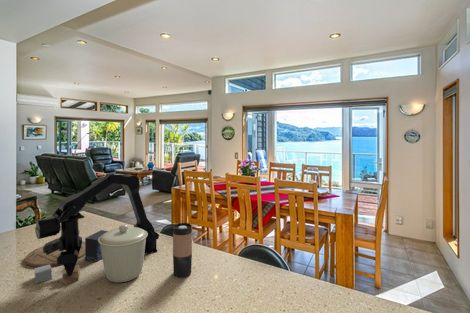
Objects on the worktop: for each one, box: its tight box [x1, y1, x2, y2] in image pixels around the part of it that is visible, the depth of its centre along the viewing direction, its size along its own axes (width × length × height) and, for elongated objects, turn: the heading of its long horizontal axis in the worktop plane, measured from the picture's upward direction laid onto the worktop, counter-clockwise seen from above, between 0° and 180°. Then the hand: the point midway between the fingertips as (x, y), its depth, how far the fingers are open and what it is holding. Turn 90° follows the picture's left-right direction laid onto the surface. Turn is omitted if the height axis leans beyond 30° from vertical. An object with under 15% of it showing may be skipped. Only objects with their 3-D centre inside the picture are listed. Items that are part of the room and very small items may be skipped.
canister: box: [98, 223, 148, 284], centre depth 103 cm, size 18×18×21 cm
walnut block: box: [62, 264, 81, 284], centre depth 100 cm, size 5×5×4 cm
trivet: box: [24, 240, 85, 268], centre depth 121 cm, size 25×25×2 cm
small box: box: [84, 229, 109, 263], centre depth 119 cm, size 11×6×10 cm, turn 168°
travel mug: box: [172, 222, 193, 279], centre depth 105 cm, size 8×8×20 cm
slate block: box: [33, 265, 53, 284], centre depth 100 cm, size 5×5×4 cm
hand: (71, 270), depth 100 cm, fingers open, 9 cm apart
